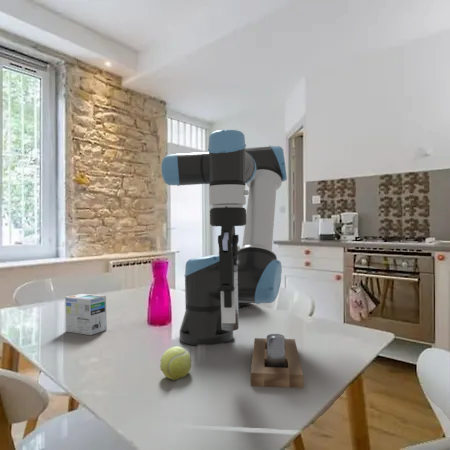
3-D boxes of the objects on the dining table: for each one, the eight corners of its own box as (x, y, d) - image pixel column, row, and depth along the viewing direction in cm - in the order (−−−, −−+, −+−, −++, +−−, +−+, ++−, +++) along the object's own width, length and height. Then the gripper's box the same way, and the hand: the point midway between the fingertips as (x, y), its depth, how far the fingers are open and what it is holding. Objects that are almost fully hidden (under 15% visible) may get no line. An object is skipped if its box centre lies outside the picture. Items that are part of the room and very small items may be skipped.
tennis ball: (194, 347, 75) (180, 338, 81) (165, 358, 72) (152, 348, 77) (199, 376, 76) (184, 366, 81) (169, 389, 72) (156, 377, 78)
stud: (219, 330, 74) (218, 267, 74) (222, 325, 78) (221, 264, 78) (238, 331, 74) (237, 267, 73) (239, 325, 77) (238, 264, 77)
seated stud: (267, 378, 74) (266, 338, 74) (267, 371, 78) (266, 333, 78) (285, 379, 74) (284, 339, 74) (284, 372, 77) (284, 334, 77)
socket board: (250, 388, 71) (250, 372, 71) (254, 350, 92) (254, 338, 92) (303, 390, 69) (303, 374, 69) (294, 351, 91) (294, 339, 91)
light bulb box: (107, 330, 112) (107, 295, 112) (91, 336, 106) (90, 299, 106) (81, 326, 117) (81, 292, 117) (64, 332, 111) (64, 296, 111)
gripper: (243, 205, 67) (245, 332, 67) (248, 207, 83) (249, 309, 84) (202, 206, 67) (205, 331, 68) (215, 208, 84) (217, 309, 84)
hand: (229, 319), depth 76 cm, fingers closed on stud, 4 cm apart
